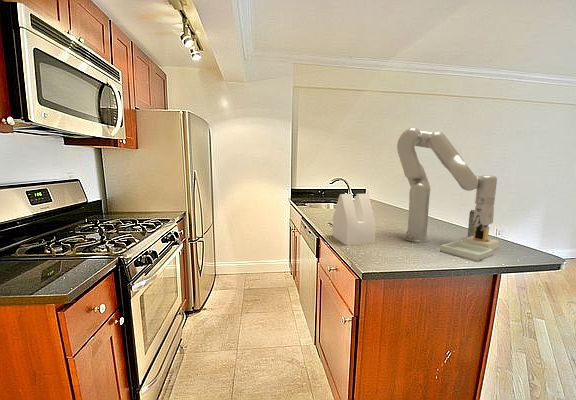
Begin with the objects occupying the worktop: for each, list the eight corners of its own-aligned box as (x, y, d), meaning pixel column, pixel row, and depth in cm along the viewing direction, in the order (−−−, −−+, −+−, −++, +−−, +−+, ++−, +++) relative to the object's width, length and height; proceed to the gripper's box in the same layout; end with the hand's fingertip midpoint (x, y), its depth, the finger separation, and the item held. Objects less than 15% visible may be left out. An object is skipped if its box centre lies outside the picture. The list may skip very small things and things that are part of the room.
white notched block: (332, 236, 156) (333, 192, 152) (357, 234, 159) (358, 192, 156) (346, 245, 137) (348, 196, 134) (374, 244, 140) (376, 196, 137)
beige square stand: (487, 252, 127) (488, 244, 127) (462, 246, 137) (463, 238, 136) (498, 248, 133) (499, 240, 132) (473, 243, 142) (474, 235, 142)
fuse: (483, 247, 132) (486, 227, 130) (472, 244, 136) (475, 225, 135) (486, 246, 134) (489, 227, 132) (475, 243, 138) (478, 224, 136)
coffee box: (468, 237, 153) (470, 209, 150) (482, 239, 149) (485, 210, 147) (466, 241, 145) (469, 211, 143) (481, 243, 142) (484, 213, 139)
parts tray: (477, 261, 115) (478, 255, 115) (440, 251, 129) (440, 245, 128) (492, 256, 122) (493, 249, 122) (455, 246, 136) (456, 241, 136)
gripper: (485, 203, 124) (481, 242, 127) (501, 201, 133) (497, 237, 135) (467, 201, 131) (463, 238, 133) (484, 199, 139) (480, 234, 142)
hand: (480, 237), depth 134 cm, fingers closed on fuse, 3 cm apart
